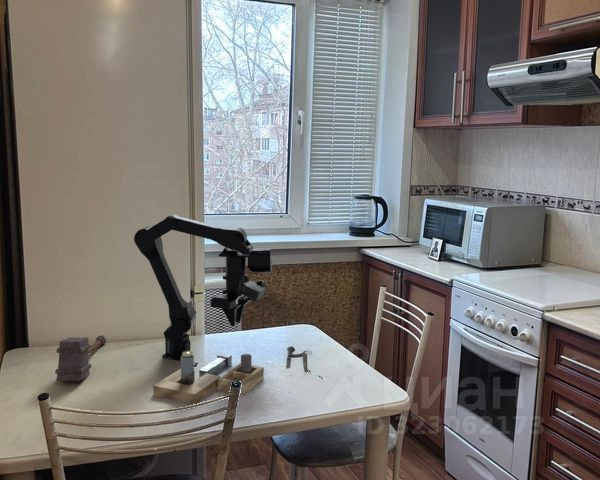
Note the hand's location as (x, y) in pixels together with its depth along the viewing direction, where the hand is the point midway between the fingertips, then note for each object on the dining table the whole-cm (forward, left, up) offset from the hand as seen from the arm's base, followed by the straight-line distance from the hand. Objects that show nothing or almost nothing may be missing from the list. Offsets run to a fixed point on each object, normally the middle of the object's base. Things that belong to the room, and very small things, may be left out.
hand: (235, 324), depth 168 cm
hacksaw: (+20, +4, -11) cm, 23 cm away
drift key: (0, -12, -10) cm, 15 cm away
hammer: (-36, -21, -10) cm, 43 cm away
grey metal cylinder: (0, -25, -10) cm, 27 cm away
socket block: (0, -25, -10) cm, 27 cm away
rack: (+11, -16, -10) cm, 22 cm away
